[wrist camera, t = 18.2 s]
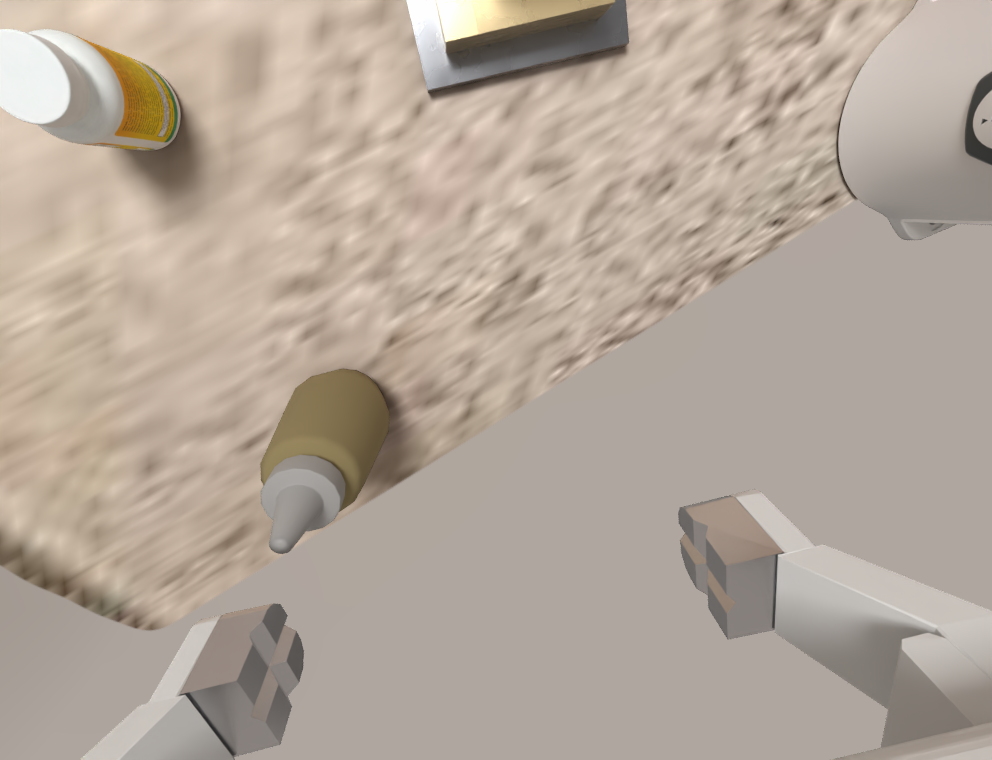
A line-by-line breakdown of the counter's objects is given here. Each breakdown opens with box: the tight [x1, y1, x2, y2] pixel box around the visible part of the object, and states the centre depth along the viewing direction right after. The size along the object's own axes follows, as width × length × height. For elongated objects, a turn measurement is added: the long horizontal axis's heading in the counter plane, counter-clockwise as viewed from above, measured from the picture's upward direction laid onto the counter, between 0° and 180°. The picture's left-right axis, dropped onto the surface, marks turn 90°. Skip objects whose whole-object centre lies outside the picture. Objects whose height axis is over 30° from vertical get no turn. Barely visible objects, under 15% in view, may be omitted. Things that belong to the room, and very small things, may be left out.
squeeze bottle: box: [261, 369, 390, 554], centre depth 33 cm, size 8×8×18 cm
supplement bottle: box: [0, 29, 181, 151], centre depth 27 cm, size 5×5×10 cm
